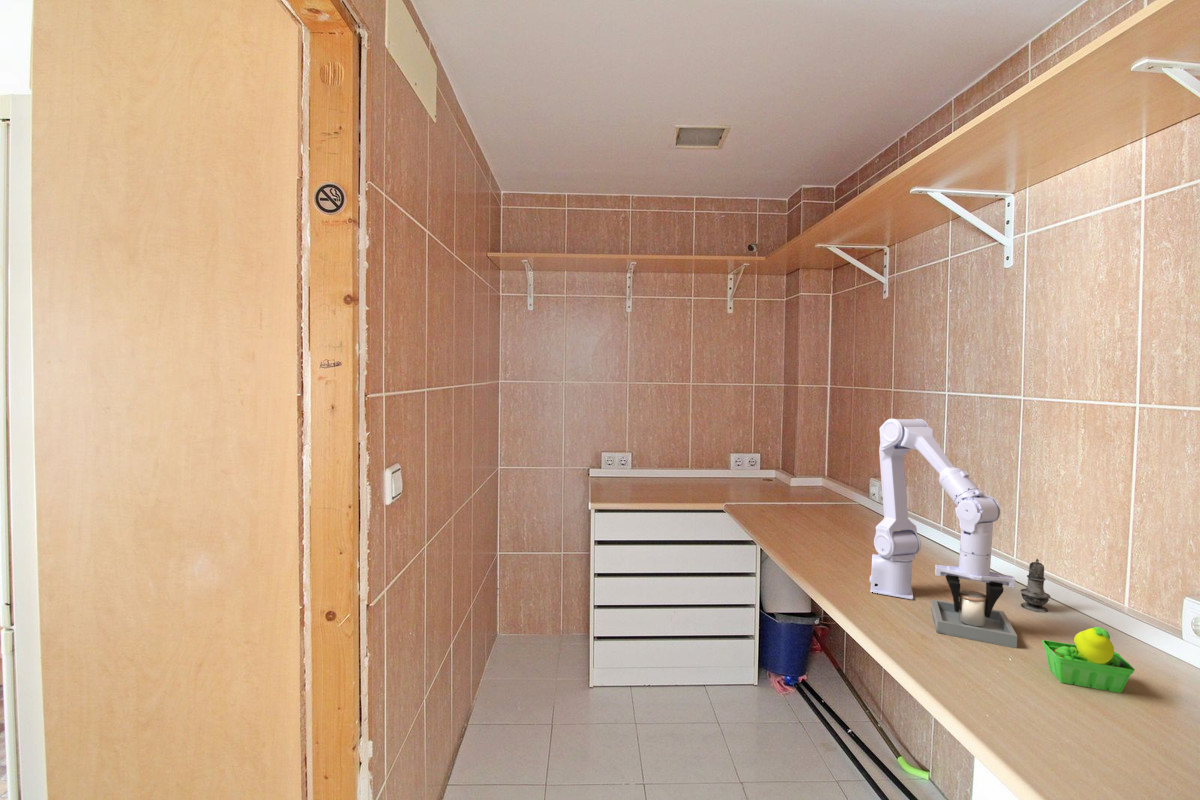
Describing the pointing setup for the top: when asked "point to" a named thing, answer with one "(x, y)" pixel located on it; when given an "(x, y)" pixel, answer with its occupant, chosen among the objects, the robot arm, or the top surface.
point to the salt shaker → (1035, 589)
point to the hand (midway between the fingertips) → (971, 613)
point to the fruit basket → (1088, 661)
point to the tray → (991, 632)
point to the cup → (972, 607)
